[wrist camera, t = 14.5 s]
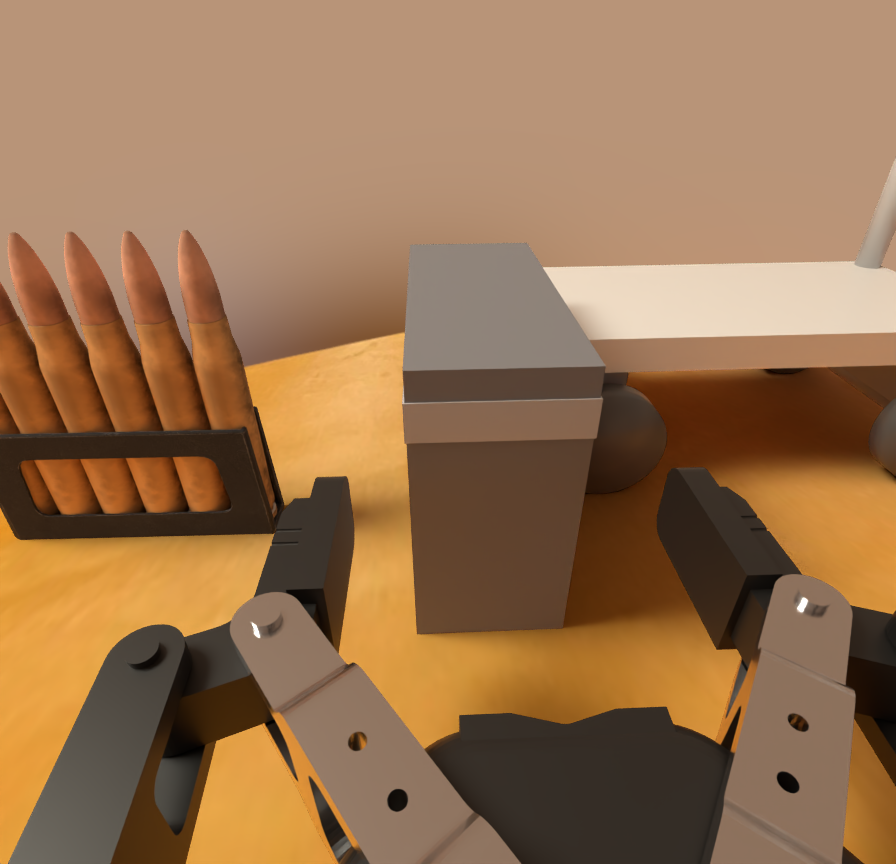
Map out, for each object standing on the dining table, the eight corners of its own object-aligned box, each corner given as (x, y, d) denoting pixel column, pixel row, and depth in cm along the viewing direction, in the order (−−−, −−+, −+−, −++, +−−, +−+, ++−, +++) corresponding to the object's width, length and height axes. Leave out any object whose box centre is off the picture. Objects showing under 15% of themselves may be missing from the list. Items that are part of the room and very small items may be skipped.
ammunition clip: (15, 540, 23) (-160, 241, 16) (41, 510, 24) (-109, 227, 18) (275, 533, 23) (205, 237, 17) (285, 504, 25) (224, 223, 18)
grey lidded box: (513, 437, 29) (527, 242, 24) (563, 630, 19) (608, 366, 14) (417, 440, 29) (409, 244, 24) (415, 636, 19) (400, 371, 13)
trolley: (813, 364, 36) (962, -23, 25) (973, 481, 26) (1340, -91, 15) (507, 372, 35) (530, -22, 25) (544, 495, 25) (611, -93, 14)
